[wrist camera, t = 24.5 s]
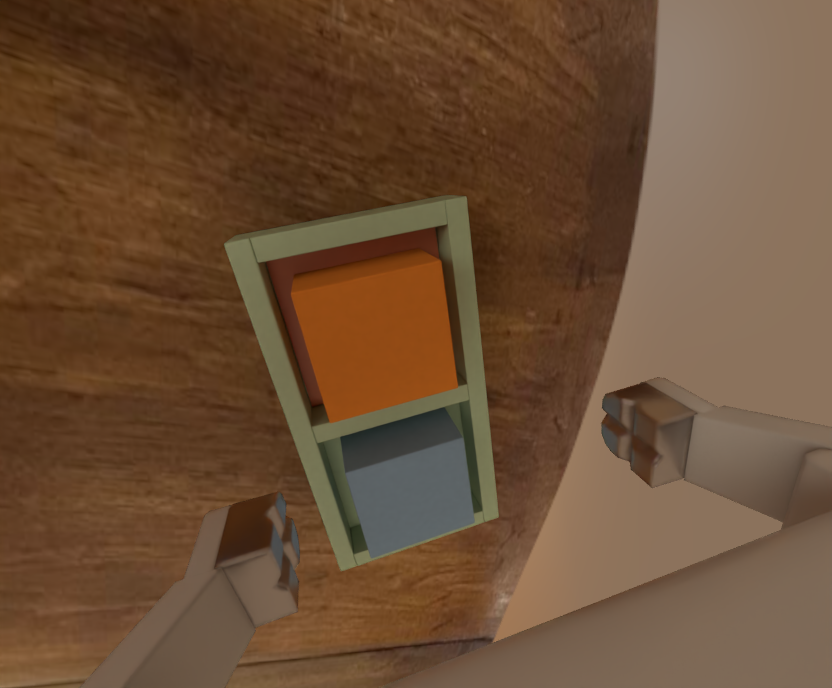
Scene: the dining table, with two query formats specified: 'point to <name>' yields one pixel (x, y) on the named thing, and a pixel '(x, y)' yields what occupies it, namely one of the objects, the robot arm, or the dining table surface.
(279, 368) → the frame
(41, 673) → the dining table surface
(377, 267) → the orange square block
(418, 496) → the blue gray block
